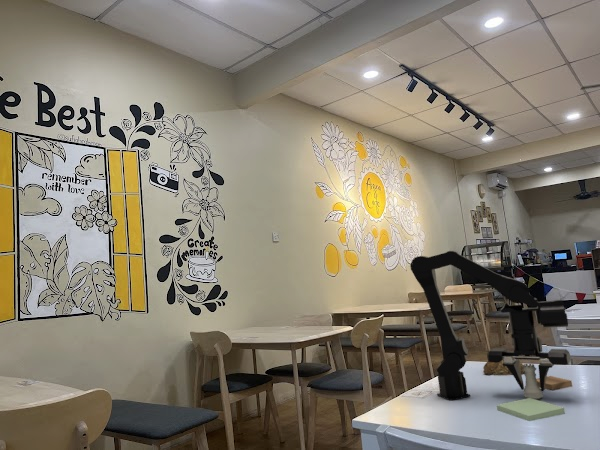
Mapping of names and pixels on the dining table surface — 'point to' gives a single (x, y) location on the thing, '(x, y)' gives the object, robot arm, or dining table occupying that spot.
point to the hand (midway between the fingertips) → (532, 390)
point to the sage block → (530, 409)
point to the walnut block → (555, 383)
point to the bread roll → (499, 368)
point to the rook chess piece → (531, 383)
